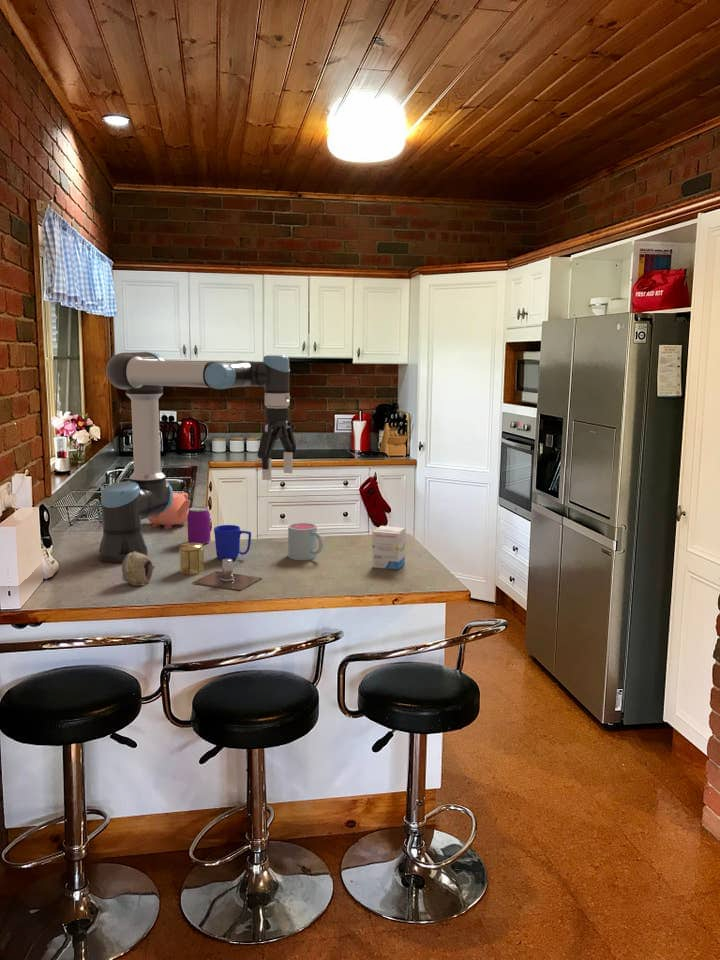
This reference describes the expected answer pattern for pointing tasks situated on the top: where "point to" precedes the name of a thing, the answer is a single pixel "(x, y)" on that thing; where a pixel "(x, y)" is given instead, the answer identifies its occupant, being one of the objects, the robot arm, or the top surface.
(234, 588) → the square plate with knob
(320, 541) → the mug
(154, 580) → the top surface
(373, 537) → the ink box
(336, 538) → the top surface
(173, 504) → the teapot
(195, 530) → the beverage can
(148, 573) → the beige round pot
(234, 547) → the mug
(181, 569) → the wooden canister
